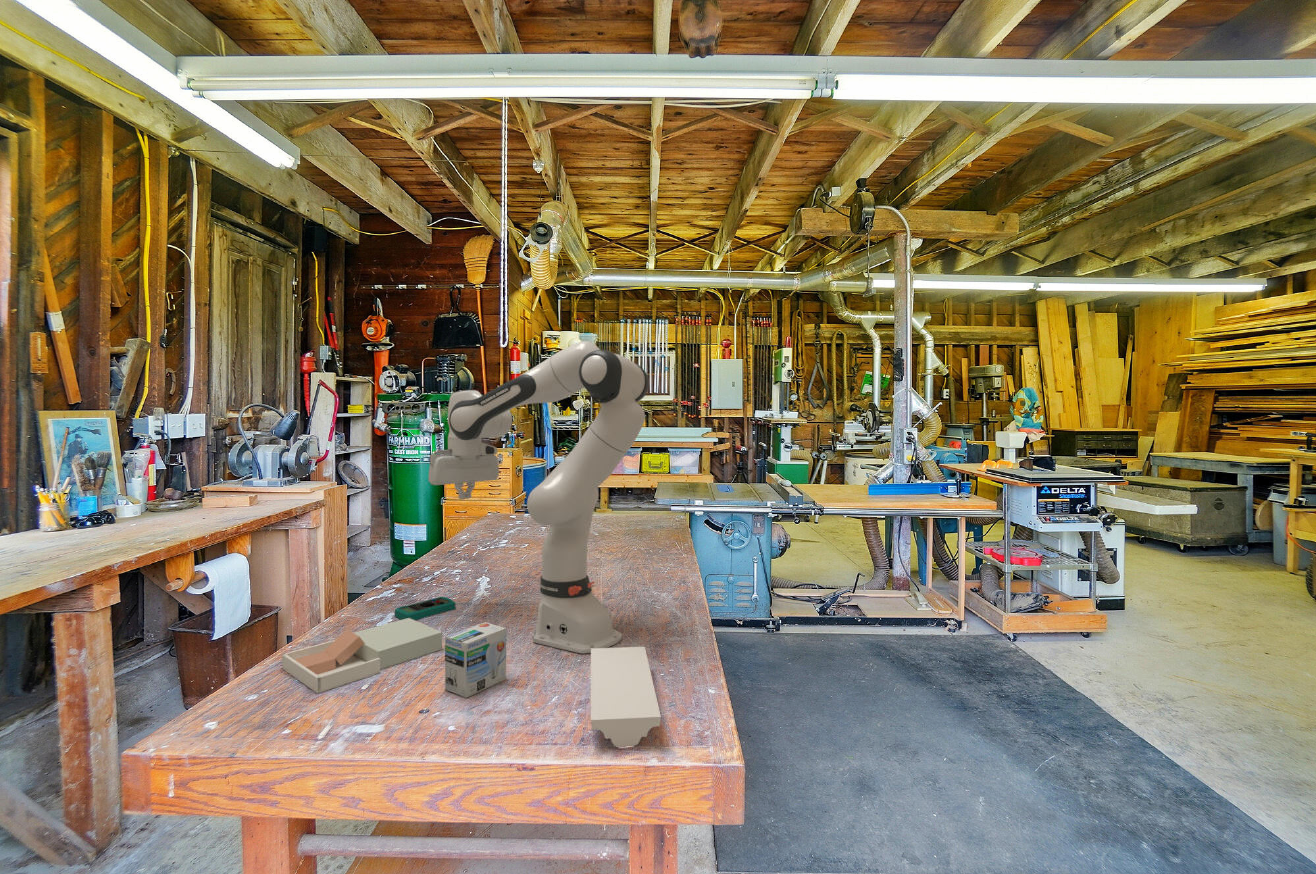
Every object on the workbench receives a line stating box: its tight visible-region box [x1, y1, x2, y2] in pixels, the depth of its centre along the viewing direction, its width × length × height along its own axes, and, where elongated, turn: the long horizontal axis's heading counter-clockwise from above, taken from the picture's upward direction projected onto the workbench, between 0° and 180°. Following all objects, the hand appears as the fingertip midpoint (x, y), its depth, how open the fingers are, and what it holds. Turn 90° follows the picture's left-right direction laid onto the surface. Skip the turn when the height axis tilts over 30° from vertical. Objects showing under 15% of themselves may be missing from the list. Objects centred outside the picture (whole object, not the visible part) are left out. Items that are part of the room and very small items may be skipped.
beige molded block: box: [590, 646, 662, 748], centre depth 113 cm, size 12×30×5 cm, turn 6°
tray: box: [281, 639, 381, 694], centre depth 126 cm, size 18×12×3 cm
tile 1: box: [294, 651, 336, 674], centre depth 126 cm, size 6×6×2 cm
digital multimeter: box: [394, 596, 456, 621], centre depth 164 cm, size 7×15×3 cm, turn 142°
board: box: [353, 618, 443, 670], centre depth 137 cm, size 15×15×4 cm
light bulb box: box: [444, 622, 507, 698], centre depth 120 cm, size 11×7×11 cm, turn 148°
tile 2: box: [324, 629, 365, 665], centre depth 130 cm, size 6×6×2 cm
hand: (464, 498), depth 165 cm, fingers closed
